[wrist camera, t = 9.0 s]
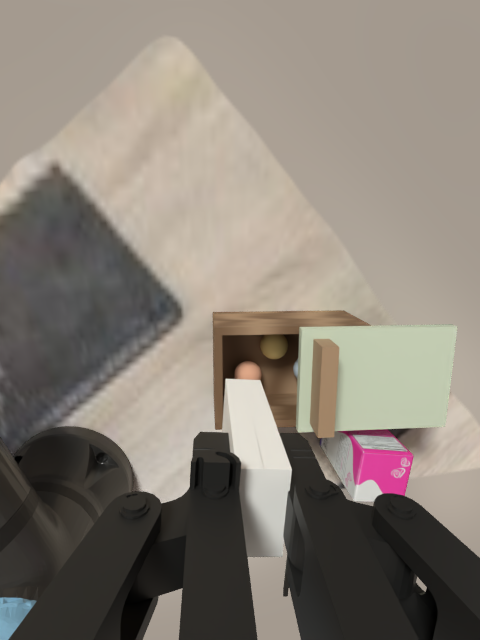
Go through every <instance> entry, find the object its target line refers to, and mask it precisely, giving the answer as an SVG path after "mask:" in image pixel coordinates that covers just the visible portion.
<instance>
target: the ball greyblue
mask: <svg viewBox="0 0 480 640" xmlns="http://www.w3.org/2000/svg"><path fill="white" fill-rule="evenodd" d="M293 371H294V374H295V376H296V378H297V379H298V359H297V360H296V362H295V363H294V367H293Z"/></svg>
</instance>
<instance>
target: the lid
mask: <svg viewBox="0 0 480 640" xmlns="http://www.w3.org/2000/svg"><path fill="white" fill-rule="evenodd" d="M456 335H457V326H454V325H451V324H449V325H388V326H327V327H299V353H298V381H297V408H296V430H297V432H298V433H301V432H315V434H316V436H317V437H318V438H329V437H334V432H335V431H351V430H377V429H402V428H427V427H445V424H446V416H447V408H448V400H449V392H450V384H451V375H452V367H453V359H454V351H455V342H456Z"/></svg>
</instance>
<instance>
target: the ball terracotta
mask: <svg viewBox="0 0 480 640" xmlns="http://www.w3.org/2000/svg"><path fill="white" fill-rule="evenodd" d="M234 375H235V379H246V380H260V381H261V377H262V372H261V369H260V367H259V366H258V365H257V364H256V363H254V362H252V361H244V362H242V363H240V364H239V365H238V366H237V367H236V370H235V374H234Z"/></svg>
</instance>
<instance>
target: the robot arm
mask: <svg viewBox="0 0 480 640" xmlns="http://www.w3.org/2000/svg"><path fill="white" fill-rule="evenodd" d="M132 488H133V474H132V469H131V466H130V463H129V461H128V459H127V457H126V456H125V454H124V453H123V451H122V450H121V449H120V448H119V447H118V446H117V445H116V444H115V443H114V442H113V441H112V440H110V439H109V438H107V437H106V436H104V435H102V434H100V433H98V432H96V431H93V430H90V429H86V428H81V427H57V428H53V429H49V430H46V431H43V432H41V433H39V434H37V435H35V436H34V437H32V438H31V439H29V440H28V441H27V442H26V443H25V444H24V445H23V446H22V447H21V448H20V449H19V450H18V451H17V452H16V454H15V455H14V456H12V454H11V453H10V451H9V450H8V448H7V447H6V445H5V444H4V442H3V440H2V439H1V437H0V640H142V639H143V637H144V634H145V632H146V630H147V627H148V625H149V622H150V620H151V617H152V614H153V612H154V610H155V607H156V605H157V601H158V596H159V595H162V594H165V593H169V592H172V591H175V590H178V589H181V588H183V590H182V604H181V618H180V633H179V640H257V632H256V624H255V616H254V608H253V600H252V592H251V583H250V575H249V568H248V559H247V557H282V555H283V546H284V542H285V546H286V549H287V562H286V571H285V580H284V588H283V589H284V590H283V596H288V588H290V592H291V597H292V601H293V606H294V609H295V614H296V618H297V623H298V627H299V632H300V636H301V640H480V558H479V557H478V556H477V555H476V554H475V553H474V552H472V551H471V550H470V549H469V548H468V547H467V546H466V545H464V544H463V543H462V542H461V541H460V540H459V539H458V538H457V537H456V536H454V535H453V534H452V533H451V532H450V531H449V530H448V529H447V528H445V527H444V526H443V525H442V524H441V523H440V522H439V521H437V519H435V518H434V517H433V516H432V515H431V514H430V513H429V512H428V511H426V510H425V509H424V508H423V507H422V506H421V505H419V504H418V503H417V502H415V501H413V500H412V499H410V498H407V497H405V496H403V495H400V494H394V493H384V494H381V495H378V496H377V497H376V499H375V500H374V506H369V505H365V504H360V503H356V502H353V501H350V500H347V499H346V497H345V496H344V494H343V492H342V490H341V489H340V488H339V487H338V486H337V485H336V484H334V483H333V482H331V481H329V480H326V478H325V476H324V474H323V472H322V470H321V468H320V466H319V464H318V462H317V459H316V458H315V455H314V453H313V451H312V449H311V447H310V445H309V443H308V441H307V440H306V439H305V438H303V437H302V436H301V435H300V434H298V433H279V432H278V429H277V426H276V423H275V420H274V418H273V415H272V412H271V409H270V406H269V403H268V401H267V398H266V395H265V392H264V389H263V386H262V384H261V381H260V380H246V379H226V380H225V395H224V409H223V424H222V433H221V432H200V433H199V434H198V435H197V436H196V437H195V439H194V444H193V458H192V461H191V473H190V488H189V489H188V491H187V492H186V493H185V494H184V495H183V496H182V497H180V498H178V499H176V500H173V501H170V502H166V503H162V504H161V502H160V500H159V499H158V498H157V497H156V496H155V495H153V494H150V493H147V492H138V491H134V492H132ZM417 576H418V577H419V579H420V580H421V581H422V582H423V583H424V584H425V586H426V587H427V590H426V592H424V591H423V590H422V589H421V588H420V587H419V586H418V585H417V583H416V579H417Z"/></svg>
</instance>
